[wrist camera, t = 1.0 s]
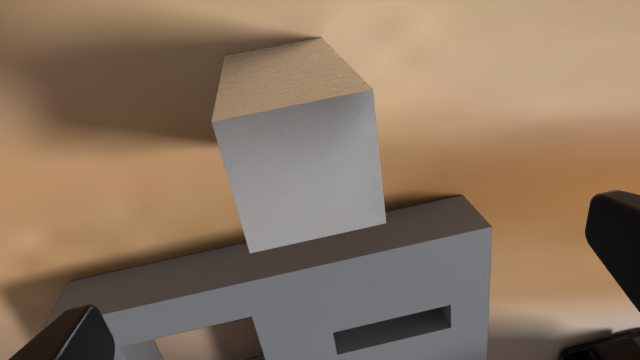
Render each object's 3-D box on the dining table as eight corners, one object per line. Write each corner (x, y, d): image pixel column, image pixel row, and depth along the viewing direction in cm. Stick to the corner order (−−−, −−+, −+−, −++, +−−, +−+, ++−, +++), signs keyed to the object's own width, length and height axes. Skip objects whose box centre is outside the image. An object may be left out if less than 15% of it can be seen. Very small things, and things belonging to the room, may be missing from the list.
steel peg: (335, 127, 20) (386, 222, 13) (248, 145, 19) (249, 253, 12) (321, 37, 18) (372, 89, 11) (224, 56, 17) (211, 121, 10)
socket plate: (462, 331, 27) (486, 372, 24) (140, 409, 26) (128, 461, 23) (462, 195, 22) (492, 226, 20) (68, 281, 21) (42, 327, 18)
